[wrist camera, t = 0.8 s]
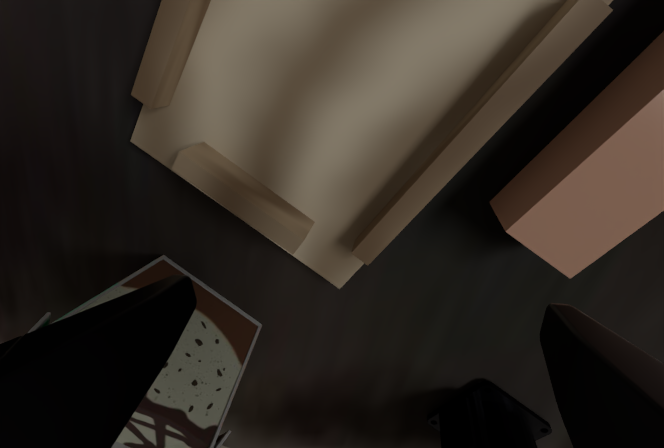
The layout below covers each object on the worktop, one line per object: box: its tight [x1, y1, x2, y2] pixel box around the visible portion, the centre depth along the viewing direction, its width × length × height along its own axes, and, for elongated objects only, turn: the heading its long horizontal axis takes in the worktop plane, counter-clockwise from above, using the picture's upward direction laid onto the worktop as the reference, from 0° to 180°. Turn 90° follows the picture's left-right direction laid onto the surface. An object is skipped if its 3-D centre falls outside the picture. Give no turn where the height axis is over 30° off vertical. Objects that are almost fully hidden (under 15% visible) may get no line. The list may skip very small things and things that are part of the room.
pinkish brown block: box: [489, 31, 664, 279], centre depth 15 cm, size 4×14×4 cm, turn 147°
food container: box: [28, 255, 262, 448], centre depth 23 cm, size 12×6×10 cm, turn 53°
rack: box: [131, 0, 613, 289], centre depth 16 cm, size 16×22×4 cm
